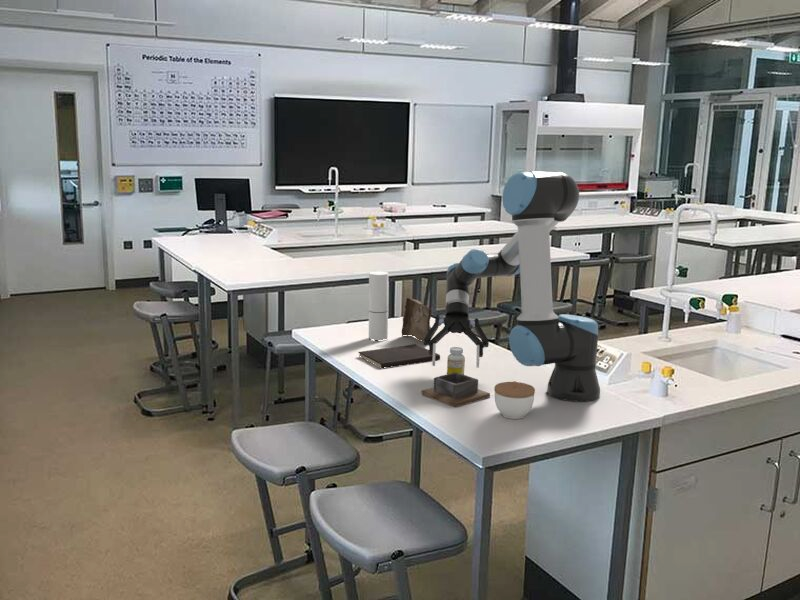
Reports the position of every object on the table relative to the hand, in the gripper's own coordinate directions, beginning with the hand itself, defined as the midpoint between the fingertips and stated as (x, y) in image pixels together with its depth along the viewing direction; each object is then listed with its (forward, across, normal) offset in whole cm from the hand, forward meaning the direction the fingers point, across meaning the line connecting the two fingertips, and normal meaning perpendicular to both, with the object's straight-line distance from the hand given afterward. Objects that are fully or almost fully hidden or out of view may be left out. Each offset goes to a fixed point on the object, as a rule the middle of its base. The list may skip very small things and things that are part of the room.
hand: (455, 364), depth 228 cm
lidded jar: (+24, -16, +17) cm, 34 cm away
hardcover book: (-12, +19, -20) cm, 30 cm away
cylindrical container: (-30, +29, -37) cm, 56 cm away
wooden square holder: (+14, 0, +7) cm, 16 cm away
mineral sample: (-30, +14, -37) cm, 49 cm away
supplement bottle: (+2, 0, -5) cm, 5 cm away
